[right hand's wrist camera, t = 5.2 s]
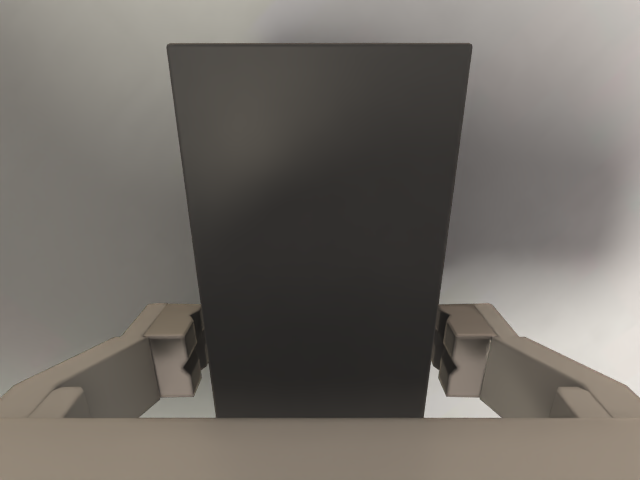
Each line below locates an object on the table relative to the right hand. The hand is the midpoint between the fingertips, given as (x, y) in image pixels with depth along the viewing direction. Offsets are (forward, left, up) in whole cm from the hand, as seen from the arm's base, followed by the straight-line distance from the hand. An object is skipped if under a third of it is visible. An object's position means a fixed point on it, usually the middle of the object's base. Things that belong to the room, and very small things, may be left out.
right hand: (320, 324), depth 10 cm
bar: (+24, -17, -3) cm, 30 cm away
